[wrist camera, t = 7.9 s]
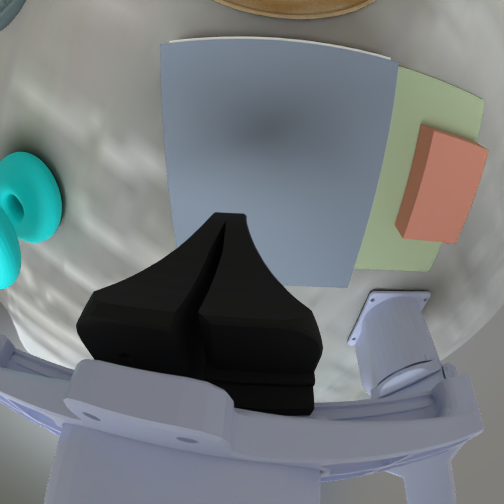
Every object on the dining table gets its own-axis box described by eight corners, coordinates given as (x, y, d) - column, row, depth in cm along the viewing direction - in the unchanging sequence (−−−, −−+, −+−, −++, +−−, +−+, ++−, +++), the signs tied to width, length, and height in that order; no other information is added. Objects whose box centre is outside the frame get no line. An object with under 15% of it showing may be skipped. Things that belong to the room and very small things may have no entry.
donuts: (-60, 234, 13) (-50, 174, 10) (-5, 183, 21) (27, 127, 18) (-4, 306, 18) (21, 274, 15) (42, 245, 26) (83, 203, 23)
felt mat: (427, 269, 25) (428, 271, 25) (346, 265, 25) (347, 268, 25) (482, 99, 14) (485, 100, 14) (388, 63, 14) (391, 63, 14)
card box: (402, 238, 20) (394, 224, 22) (455, 243, 20) (445, 230, 22) (433, 131, 15) (420, 123, 16) (488, 150, 15) (474, 141, 16)
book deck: (343, 265, 25) (349, 287, 23) (189, 256, 26) (181, 278, 23) (383, 59, 14) (402, 60, 12) (175, 44, 15) (160, 41, 12)
